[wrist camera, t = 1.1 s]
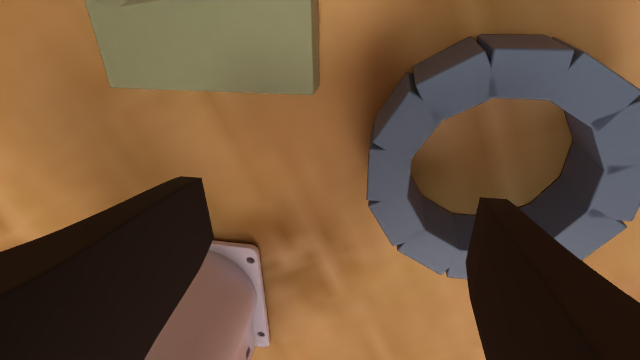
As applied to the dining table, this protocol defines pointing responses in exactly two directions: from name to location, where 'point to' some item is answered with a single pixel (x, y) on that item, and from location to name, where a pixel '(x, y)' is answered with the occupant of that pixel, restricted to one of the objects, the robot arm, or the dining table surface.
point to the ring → (509, 83)
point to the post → (209, 44)
